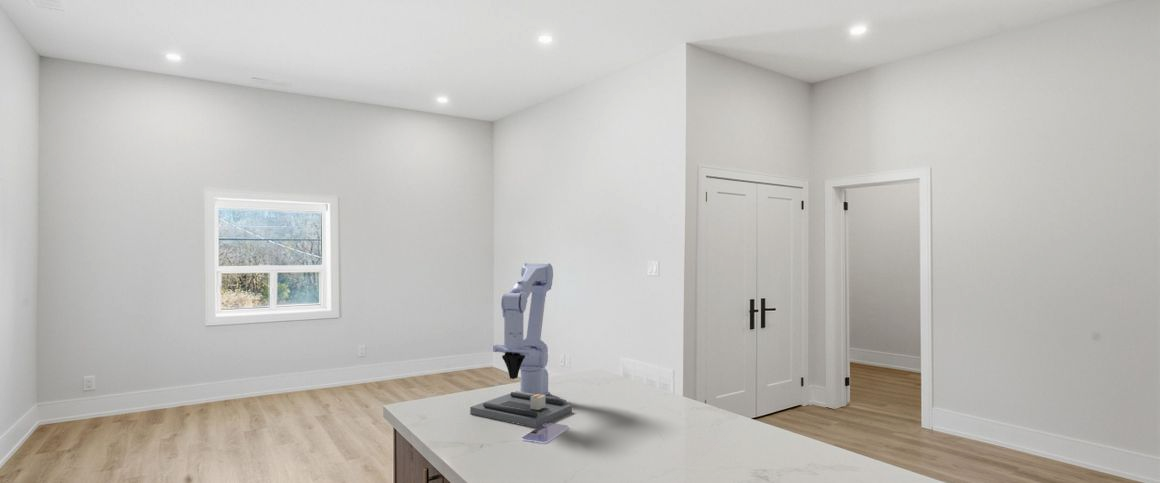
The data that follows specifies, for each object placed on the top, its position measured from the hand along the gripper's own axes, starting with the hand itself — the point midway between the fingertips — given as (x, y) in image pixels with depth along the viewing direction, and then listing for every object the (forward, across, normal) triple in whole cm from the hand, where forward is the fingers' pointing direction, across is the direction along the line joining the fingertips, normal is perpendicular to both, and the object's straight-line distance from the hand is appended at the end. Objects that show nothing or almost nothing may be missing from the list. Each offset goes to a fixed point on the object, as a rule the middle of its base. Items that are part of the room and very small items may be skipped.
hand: (513, 378), depth 174 cm
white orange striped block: (+7, +9, 0) cm, 12 cm away
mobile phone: (+10, +20, -11) cm, 25 cm away
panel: (+10, +3, 0) cm, 10 cm away
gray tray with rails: (+8, +3, +1) cm, 9 cm away
